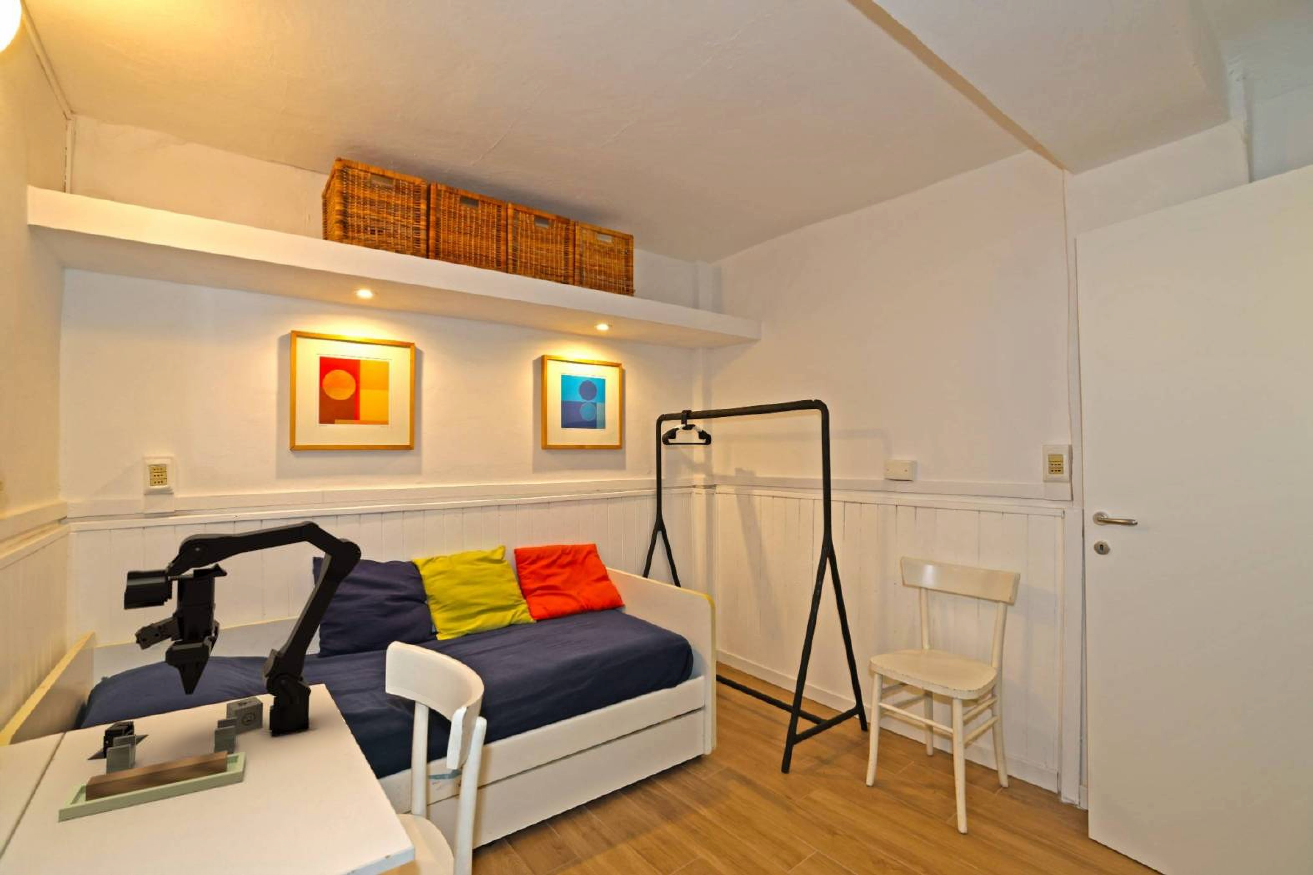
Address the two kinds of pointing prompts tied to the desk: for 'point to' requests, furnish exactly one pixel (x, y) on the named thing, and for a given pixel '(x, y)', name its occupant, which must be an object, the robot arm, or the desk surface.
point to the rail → (155, 775)
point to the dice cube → (246, 714)
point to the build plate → (113, 732)
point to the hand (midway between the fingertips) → (193, 685)
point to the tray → (150, 791)
